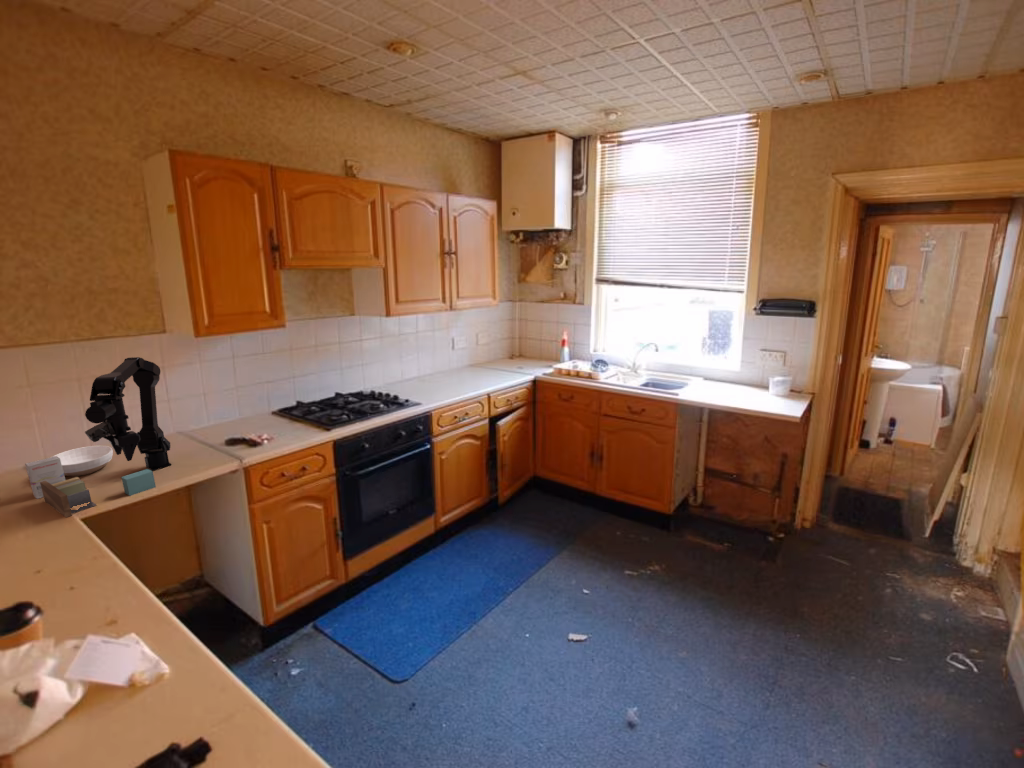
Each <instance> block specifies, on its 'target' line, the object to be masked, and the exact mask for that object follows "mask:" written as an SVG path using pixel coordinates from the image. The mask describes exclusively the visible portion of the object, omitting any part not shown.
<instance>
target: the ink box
mask: <svg viewBox="0 0 1024 768" xmlns="http://www.w3.org/2000/svg"><path fill="white" fill-rule="evenodd" d="M53 456H54V455H53ZM24 466H25V470H26V472H27V476H28V481H29V484H30V487H31V491H32V494H33V497H34V498H35V499H37V500H38V499H40V498H41V499H42V498H44V496H43V492H42V488H41V485H40V482H43V481H47V482H48V483H50V484H55V483H58V482H62V481H65V480H66V477H65V476H66V475H64V472H63V468H62V464H61V461H60V458H58V457H57V456H54V457H52V456H50V457H47V458H43V459H38V460H34V461H31V462H27V463H24Z"/></svg>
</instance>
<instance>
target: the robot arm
mask: <svg viewBox="0 0 1024 768" xmlns="http://www.w3.org/2000/svg"><path fill="white" fill-rule="evenodd" d="M160 375H161V369H160V366H159V365H157V364H156V363H155V362H153V361H149V360H146V359H144V358H143V357H141V356H140V357H139V356H137V357H135V356H134V357H133V356H132V357H126V358H124V361H122V362H121V364H119V365H118V366H117V367H116V368H115V369H113V370H112V371H111V372H109V373H105V374H101V375H100V376H97V377H96V378H95V379H93V382H92V386H91V390H90V391H91V392H90V395H89V396H90V397H89V401H90V402H89V405H90V406H88V407H87V408H86V410H85V414H84V415H85V418H86V420H87V421H88V422H90V423H92V424H96V425H94V426H92V427H91V428H89V429H87V430H86V431H84V434H85V435H86V436H87V438H88V439H89V440H90V441H91V442H93V443H96V442H98V441H100V440H102V439H105V440H108V442H109V443H110V445H111V448H112V449H113V451H114V452H115V454H116V455H117V456H118V455H119V456H120V455H121V454H122V452H123V455H124V457H125V459H126V461H127V462H130V461H132V460H133V457H134V454H135V451H136V449H138V451H139V453H140V454H141V455H142V454H144V455H145V456H144V462H145V463H144V464H145V468H146V469H149V470H151V471H155V470H159V469H160V470H161V469H163V468H166V467H170V466H171V465H172V463H171V462H170V460H169V453H168V451H171V442H170V441H169V440H168V439H167V438H166V437H165V435H164V431H163V430H162V428H160V425H159V423H158V411H157V395H156V394H157V393H156V386H157V385H158V383H159V381H160ZM131 377H132V380H133V382H134V383H135V385H136V386H137V388H138V389H139V390H138V391H139V401H140V402H139V403H140V415H141V417H140V418H141V428H140V429H139V431H137V432H136V431H133V430H132V428H131V426H129V423H128V419H129V415H127V414H126V410H125V406H124V405H125V404H124V400H123V397H125V393H123V391H124V389H125V388H126V381H128V380H129V379H130V378H131Z"/></svg>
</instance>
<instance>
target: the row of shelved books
mask: <svg viewBox="0 0 1024 768" xmlns="http://www.w3.org/2000/svg"><path fill="white" fill-rule="evenodd" d="M51 485H53V486H54V487H56V488H57V489H59V490H60V491H62V492H63V493H64V494H66V495H67V496H68V495H71V494H75V493H78V492H81V491H84V490H87V488H86V483H85V481H84V480H81V478H80V477H79V476H74V477H72V478H69V479H65V481H62V482H58V483H55V484H51Z"/></svg>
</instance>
